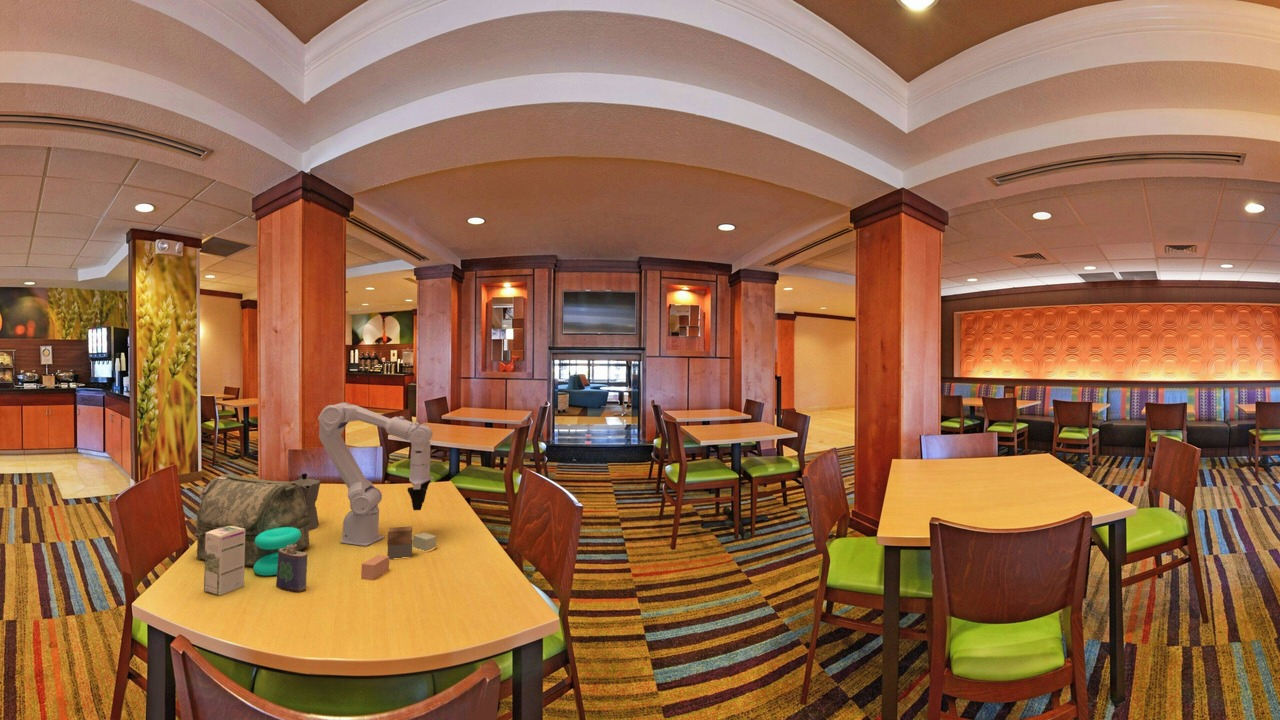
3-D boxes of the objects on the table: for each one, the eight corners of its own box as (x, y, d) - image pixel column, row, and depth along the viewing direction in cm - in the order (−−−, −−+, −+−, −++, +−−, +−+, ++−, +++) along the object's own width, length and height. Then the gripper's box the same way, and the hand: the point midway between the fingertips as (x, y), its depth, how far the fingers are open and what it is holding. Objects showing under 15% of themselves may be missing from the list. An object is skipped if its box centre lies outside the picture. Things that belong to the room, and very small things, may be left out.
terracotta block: (373, 580, 125) (373, 565, 125) (361, 579, 126) (361, 563, 126) (388, 570, 131) (389, 556, 131) (377, 569, 132) (377, 554, 132)
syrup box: (245, 586, 120) (247, 527, 120) (217, 596, 114) (220, 535, 114) (229, 582, 121) (232, 524, 122) (201, 592, 116) (204, 531, 116)
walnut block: (387, 545, 138) (387, 531, 138) (389, 541, 141) (389, 527, 141) (410, 544, 140) (411, 530, 140) (411, 539, 143) (412, 526, 143)
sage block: (435, 549, 147) (436, 536, 147) (425, 553, 144) (426, 539, 144) (423, 545, 150) (423, 532, 150) (412, 548, 147) (413, 535, 147)
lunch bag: (180, 560, 133) (184, 480, 133) (247, 537, 151) (250, 466, 151) (256, 572, 127) (260, 489, 127) (317, 547, 145) (320, 474, 145)
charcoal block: (387, 559, 138) (387, 545, 138) (389, 555, 141) (390, 541, 142) (410, 557, 140) (410, 544, 140) (411, 553, 143) (412, 539, 143)
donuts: (284, 523, 136) (310, 529, 133) (283, 559, 136) (308, 565, 132) (245, 535, 126) (271, 541, 123) (243, 573, 126) (270, 580, 123)
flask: (308, 589, 119) (310, 545, 119) (296, 594, 117) (298, 549, 117) (284, 581, 123) (285, 539, 123) (271, 586, 120) (273, 543, 120)
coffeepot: (323, 530, 159) (325, 475, 159) (288, 536, 152) (290, 479, 152) (313, 518, 170) (315, 466, 170) (280, 523, 163) (282, 470, 163)
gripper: (431, 468, 149) (430, 512, 149) (435, 458, 163) (434, 499, 163) (406, 469, 147) (404, 513, 147) (412, 459, 160) (411, 500, 160)
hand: (418, 506), depth 154 cm, fingers open, 7 cm apart
